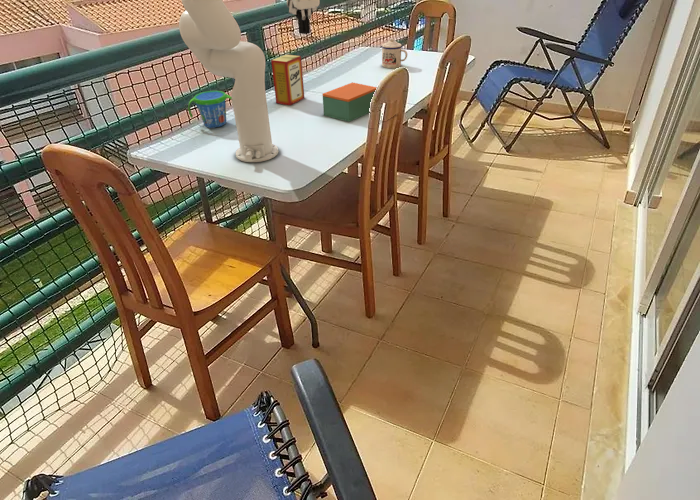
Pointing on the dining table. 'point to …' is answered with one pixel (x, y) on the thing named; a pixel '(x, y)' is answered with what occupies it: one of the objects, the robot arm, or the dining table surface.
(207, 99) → the snack cup
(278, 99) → the baking soda box
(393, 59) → the teacup with lid
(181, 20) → the robot arm
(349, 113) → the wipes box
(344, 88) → the lid
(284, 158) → the dining table surface
